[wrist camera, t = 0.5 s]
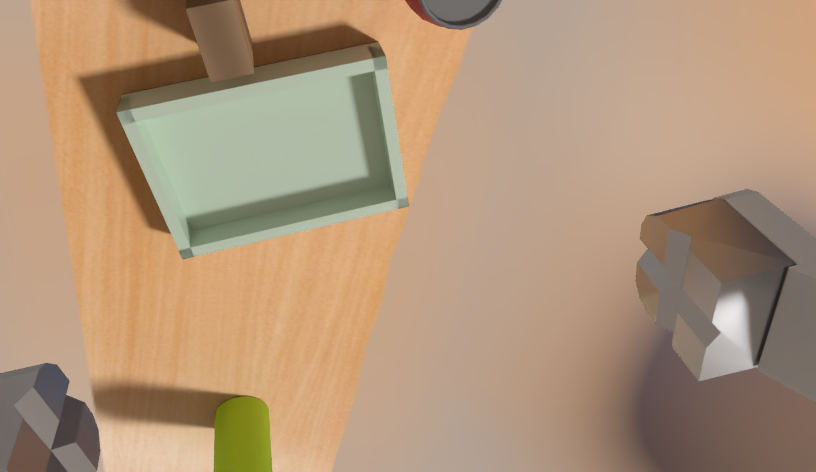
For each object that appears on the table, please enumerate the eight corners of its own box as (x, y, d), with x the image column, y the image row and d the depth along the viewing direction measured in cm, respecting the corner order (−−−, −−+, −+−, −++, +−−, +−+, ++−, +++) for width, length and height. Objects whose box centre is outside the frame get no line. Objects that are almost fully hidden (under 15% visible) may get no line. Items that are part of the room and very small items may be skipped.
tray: (121, 94, 48) (116, 112, 46) (378, 41, 50) (385, 55, 48) (184, 238, 57) (182, 259, 55) (401, 187, 59) (408, 206, 57)
